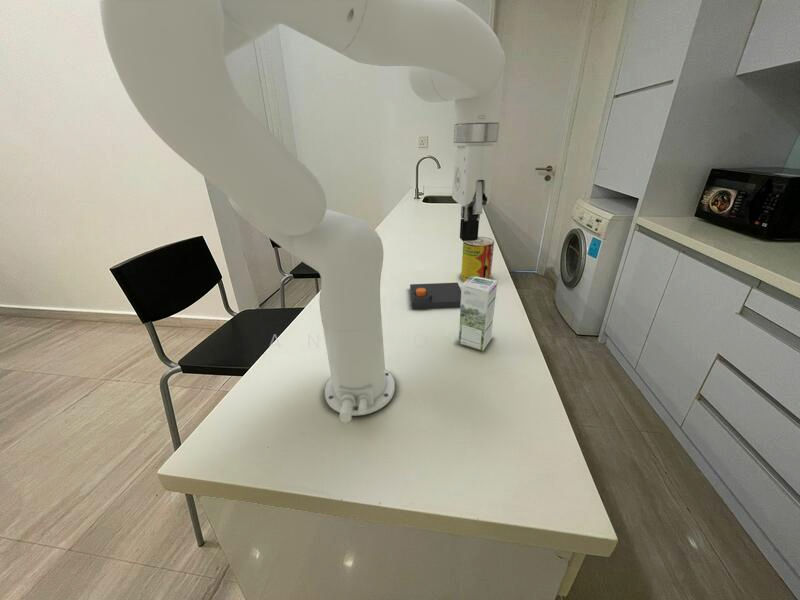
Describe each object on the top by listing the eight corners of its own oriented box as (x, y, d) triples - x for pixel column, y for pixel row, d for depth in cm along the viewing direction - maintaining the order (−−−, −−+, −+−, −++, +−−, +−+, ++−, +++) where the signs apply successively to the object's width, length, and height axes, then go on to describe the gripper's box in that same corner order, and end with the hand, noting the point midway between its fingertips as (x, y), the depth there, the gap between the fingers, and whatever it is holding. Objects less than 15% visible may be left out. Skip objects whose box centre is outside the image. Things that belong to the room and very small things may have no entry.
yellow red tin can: (470, 285, 99) (473, 247, 93) (456, 275, 107) (457, 238, 101) (496, 281, 101) (500, 243, 96) (480, 270, 109) (483, 235, 104)
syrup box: (491, 338, 74) (498, 279, 67) (482, 352, 69) (488, 290, 63) (467, 332, 76) (471, 274, 70) (457, 344, 72) (460, 284, 65)
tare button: (426, 297, 86) (426, 291, 86) (416, 297, 86) (416, 292, 86) (425, 292, 89) (425, 287, 88) (415, 293, 89) (415, 287, 88)
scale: (465, 308, 86) (466, 296, 85) (411, 310, 86) (411, 298, 85) (457, 288, 98) (457, 277, 96) (409, 290, 98) (409, 279, 96)
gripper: (445, 136, 64) (442, 230, 72) (465, 137, 50) (458, 252, 59) (483, 135, 64) (476, 229, 72) (513, 135, 51) (500, 250, 59)
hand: (468, 239), depth 65 cm, fingers closed
